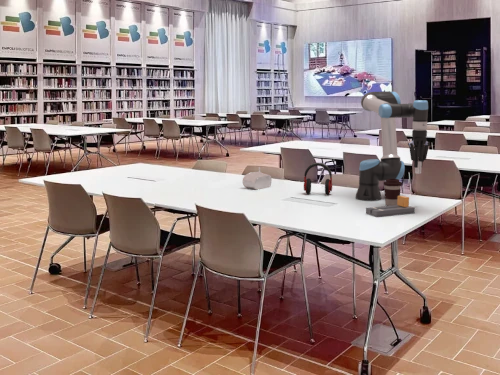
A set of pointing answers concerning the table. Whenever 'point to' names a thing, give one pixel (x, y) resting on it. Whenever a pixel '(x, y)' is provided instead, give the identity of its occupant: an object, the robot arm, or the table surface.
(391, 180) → the coffee cup
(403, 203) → the fader tab
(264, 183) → the vr headset
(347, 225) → the table surface
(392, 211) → the slider console
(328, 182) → the headphones
